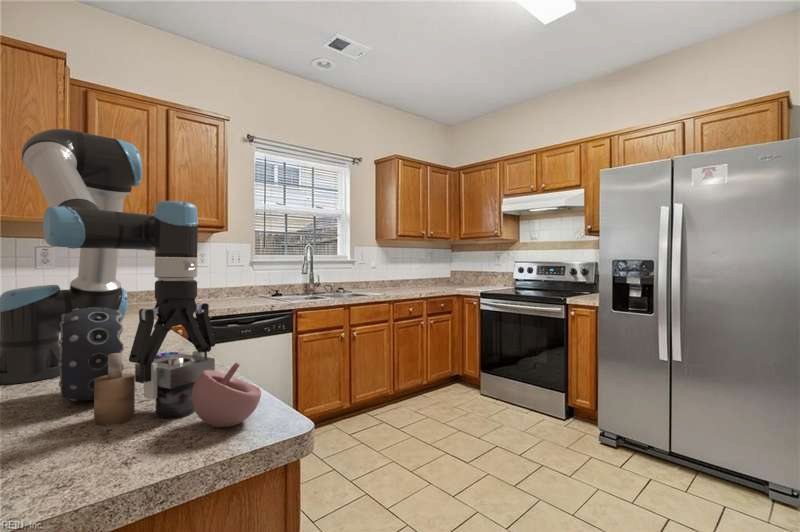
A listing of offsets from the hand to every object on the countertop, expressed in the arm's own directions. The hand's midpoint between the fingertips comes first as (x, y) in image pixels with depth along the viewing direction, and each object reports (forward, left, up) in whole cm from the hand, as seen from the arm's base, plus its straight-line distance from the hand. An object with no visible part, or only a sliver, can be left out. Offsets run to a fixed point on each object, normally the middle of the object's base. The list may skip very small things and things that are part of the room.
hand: (175, 389), depth 82 cm
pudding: (-35, +3, -5) cm, 36 cm away
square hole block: (0, 0, +2) cm, 2 cm away
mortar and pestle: (+12, +7, -5) cm, 15 cm away
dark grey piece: (-20, -14, -5) cm, 25 cm away
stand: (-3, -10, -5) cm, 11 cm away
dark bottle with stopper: (0, 0, -5) cm, 5 cm away
